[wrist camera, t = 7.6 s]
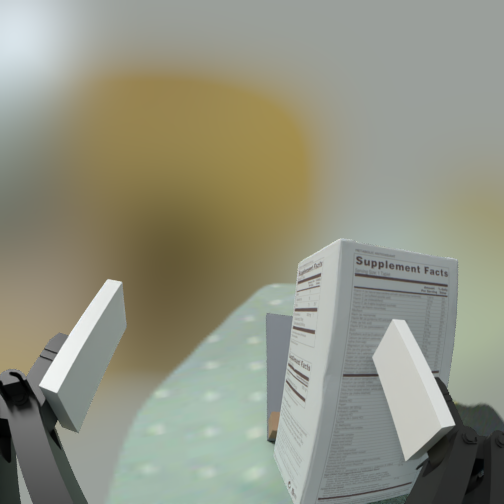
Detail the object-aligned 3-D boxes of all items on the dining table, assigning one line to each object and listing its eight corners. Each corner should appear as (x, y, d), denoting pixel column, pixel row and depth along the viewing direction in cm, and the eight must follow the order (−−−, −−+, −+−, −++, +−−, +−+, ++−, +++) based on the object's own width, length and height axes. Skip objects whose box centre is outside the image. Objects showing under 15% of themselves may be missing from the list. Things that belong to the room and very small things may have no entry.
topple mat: (417, 434, 24) (427, 424, 23) (267, 440, 23) (272, 430, 22) (377, 328, 40) (382, 317, 39) (266, 315, 39) (269, 303, 38)
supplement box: (368, 450, 23) (395, 274, 26) (422, 492, 14) (463, 257, 17) (268, 454, 22) (296, 259, 25) (293, 514, 13) (338, 232, 16)
